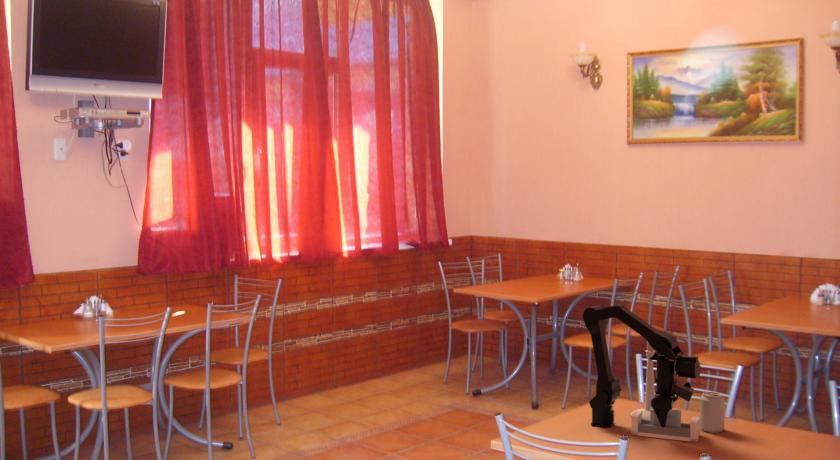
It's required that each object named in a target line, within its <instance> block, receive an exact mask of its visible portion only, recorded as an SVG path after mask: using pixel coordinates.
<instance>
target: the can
mask: <svg viewBox="0 0 840 460" xmlns="http://www.w3.org/2000/svg"><path fill="white" fill-rule="evenodd" d="M699 399H700V400H699V408H700V409H699V416H700V429H702V431H704V432H707V433H713V434H714V433H715V434H717V433H718V434H719V433H722V432H723V431H724V430H725V426H726V425H725V419H726V418H725V416H726V415H725V413H726V412H725V409H726V408H725V406H726V405H725V403H726V400H725V398H724V397H723V393H720V392H717V391H704V392H702V393H701V396H700V398H699Z"/></svg>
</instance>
